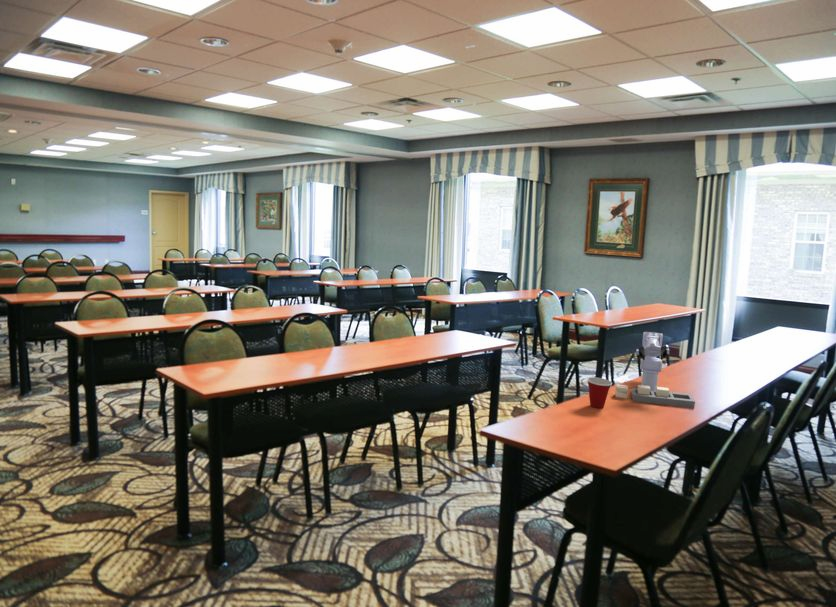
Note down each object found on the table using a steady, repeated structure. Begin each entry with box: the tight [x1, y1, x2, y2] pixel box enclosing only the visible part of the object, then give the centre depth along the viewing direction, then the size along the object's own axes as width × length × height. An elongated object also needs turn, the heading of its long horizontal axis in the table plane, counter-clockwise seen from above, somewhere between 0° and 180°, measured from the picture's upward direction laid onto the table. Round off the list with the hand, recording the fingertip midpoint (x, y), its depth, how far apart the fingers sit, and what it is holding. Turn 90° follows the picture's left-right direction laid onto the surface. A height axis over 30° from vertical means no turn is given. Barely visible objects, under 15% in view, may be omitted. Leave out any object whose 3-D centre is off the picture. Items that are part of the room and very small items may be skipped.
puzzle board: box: [630, 384, 696, 409], centre depth 280 cm, size 13×26×6 cm, turn 74°
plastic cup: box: [586, 376, 613, 409], centre depth 267 cm, size 11×11×12 cm
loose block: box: [614, 384, 629, 399], centre depth 285 cm, size 5×5×5 cm
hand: (652, 357), depth 278 cm, fingers open, 7 cm apart
